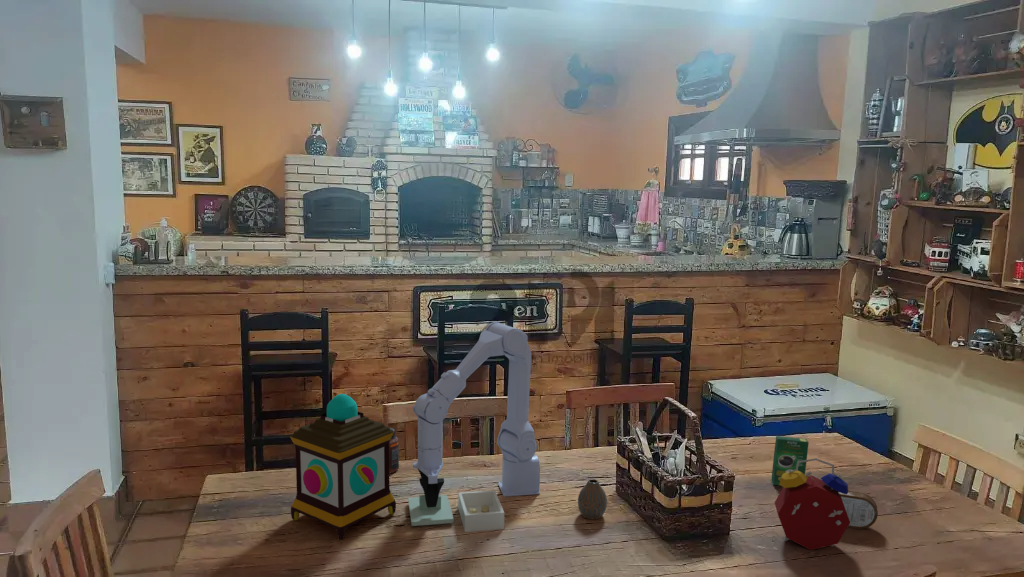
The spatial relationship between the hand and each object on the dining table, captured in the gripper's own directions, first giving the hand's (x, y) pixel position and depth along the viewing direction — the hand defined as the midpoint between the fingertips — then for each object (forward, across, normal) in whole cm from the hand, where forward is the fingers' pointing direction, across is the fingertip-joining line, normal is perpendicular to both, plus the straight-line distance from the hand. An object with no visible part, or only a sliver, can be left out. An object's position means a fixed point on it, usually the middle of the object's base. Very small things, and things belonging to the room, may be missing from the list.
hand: (430, 499), depth 171 cm
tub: (+4, +4, +12) cm, 13 cm away
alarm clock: (+4, +29, +81) cm, 86 cm away
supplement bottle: (+4, -28, -9) cm, 30 cm away
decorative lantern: (+4, -2, -20) cm, 20 cm away
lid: (+4, 0, 0) cm, 4 cm away
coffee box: (+4, -1, +95) cm, 95 cm away
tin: (+4, +21, +95) cm, 97 cm away
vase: (+4, +7, +38) cm, 39 cm away
